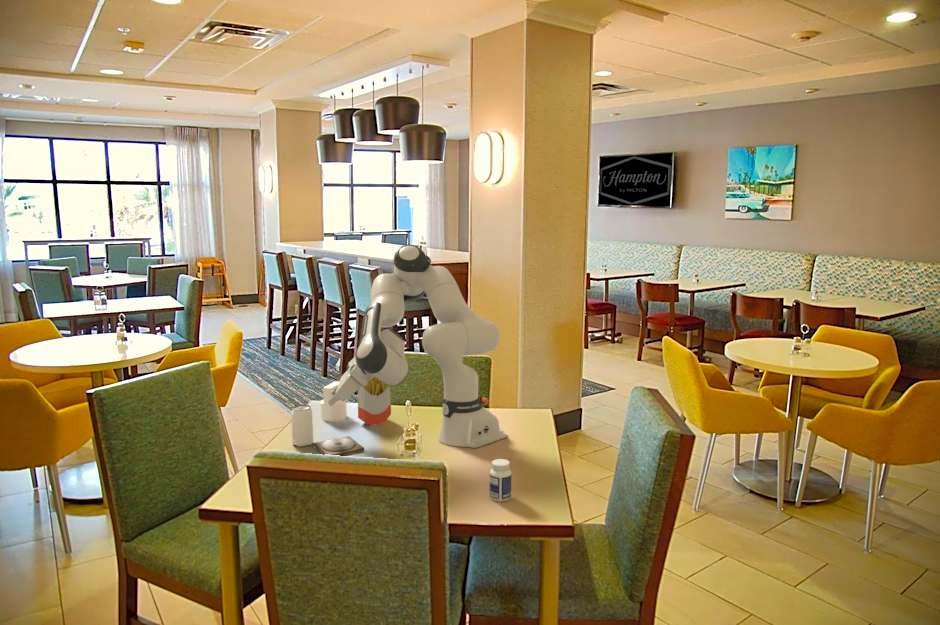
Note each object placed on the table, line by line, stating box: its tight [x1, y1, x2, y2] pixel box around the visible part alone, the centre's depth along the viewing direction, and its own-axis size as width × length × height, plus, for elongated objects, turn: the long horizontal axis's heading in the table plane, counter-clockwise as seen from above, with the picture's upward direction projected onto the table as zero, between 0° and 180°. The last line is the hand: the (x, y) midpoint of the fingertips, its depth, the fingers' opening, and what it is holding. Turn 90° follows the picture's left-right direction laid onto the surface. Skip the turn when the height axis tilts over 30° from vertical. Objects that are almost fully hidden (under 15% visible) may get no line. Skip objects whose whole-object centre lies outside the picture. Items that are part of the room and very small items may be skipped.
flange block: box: [312, 435, 365, 456], centre depth 213 cm, size 12×12×2 cm
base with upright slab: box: [319, 380, 348, 422], centre depth 241 cm, size 9×9×12 cm
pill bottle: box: [489, 458, 512, 503], centre depth 179 cm, size 6×6×10 cm
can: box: [290, 404, 314, 447], centre depth 216 cm, size 6×6×12 cm
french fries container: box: [357, 377, 392, 427], centre depth 235 cm, size 5×11×18 cm, turn 131°
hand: (331, 399), depth 216 cm, fingers open, 8 cm apart
